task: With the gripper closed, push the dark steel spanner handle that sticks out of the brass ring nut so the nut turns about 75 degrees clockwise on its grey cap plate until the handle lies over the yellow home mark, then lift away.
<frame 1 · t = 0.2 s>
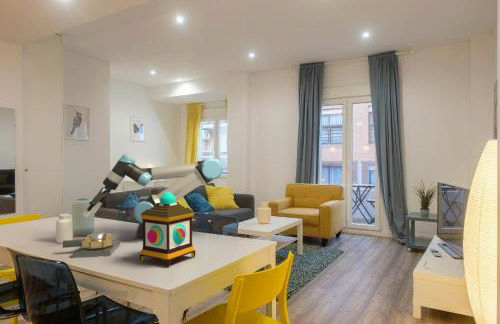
hand: (89, 213, 178), 16 cm above the table, tool tilted 35°, fingers open, 13 cm apart
decorative lantern: (168, 260, 149), on the table
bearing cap: (97, 251, 164), on the table
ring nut: (88, 241, 162), point 5 cm above the table, hinge at 0.0°
pill bottle: (64, 242, 184), on the table
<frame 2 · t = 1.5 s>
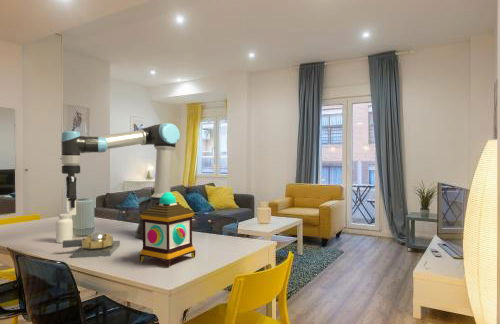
hand: (71, 213, 155), 20 cm above the table, tool pointing down, fingers open, 10 cm apart
nothing on the table moved.
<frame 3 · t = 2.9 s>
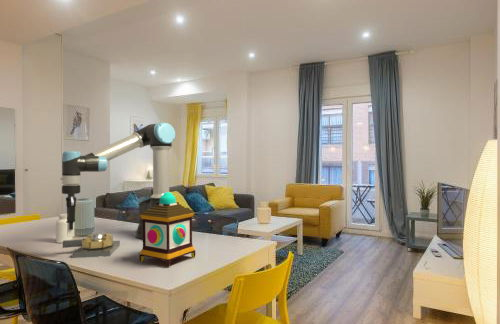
hand: (70, 236, 154), 9 cm above the table, tool pointing down, fingers closed
nothing on the table moved.
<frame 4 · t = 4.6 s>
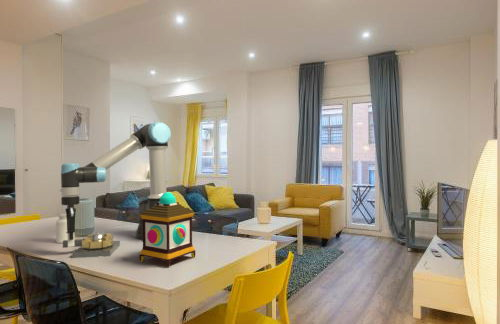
hand: (71, 246, 158), 4 cm above the table, tool pointing down, fingers closed
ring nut: (88, 240, 162), point 5 cm above the table, hinge at -1.3°, touching gripper
everything else where it was.
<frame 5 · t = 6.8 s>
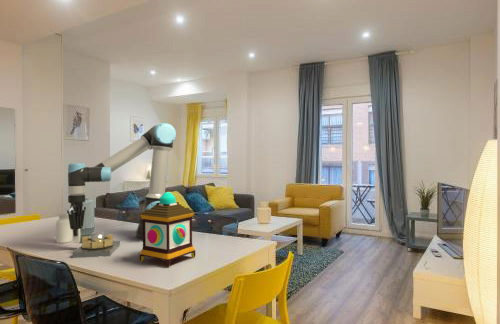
hand: (76, 242, 166), 4 cm above the table, tool pointing down, fingers closed
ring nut: (91, 239, 165), point 5 cm above the table, hinge at -40.7°, touching gripper
everything else where it was.
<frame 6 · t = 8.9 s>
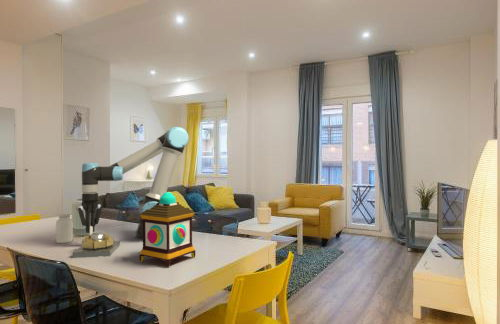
hand: (90, 238, 172), 4 cm above the table, tool pointing down, fingers closed
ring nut: (96, 238, 167), point 5 cm above the table, hinge at -76.7°, touching gripper
everything else where it was.
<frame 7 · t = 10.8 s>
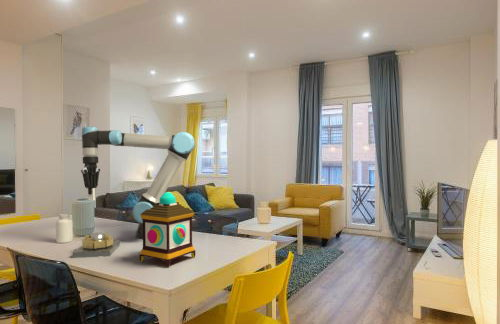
hand: (91, 200, 179), 23 cm above the table, tool pointing down, fingers closed
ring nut: (96, 238, 167), point 5 cm above the table, hinge at -76.7°
everything else where it was.
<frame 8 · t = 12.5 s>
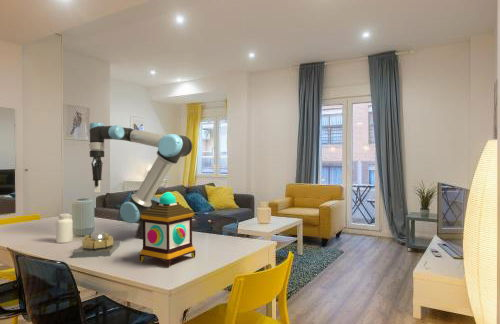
hand: (97, 191, 190), 26 cm above the table, tool pointing down, fingers closed
nothing on the table moved.
at the end: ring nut at -77° (first picture: +0°) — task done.
